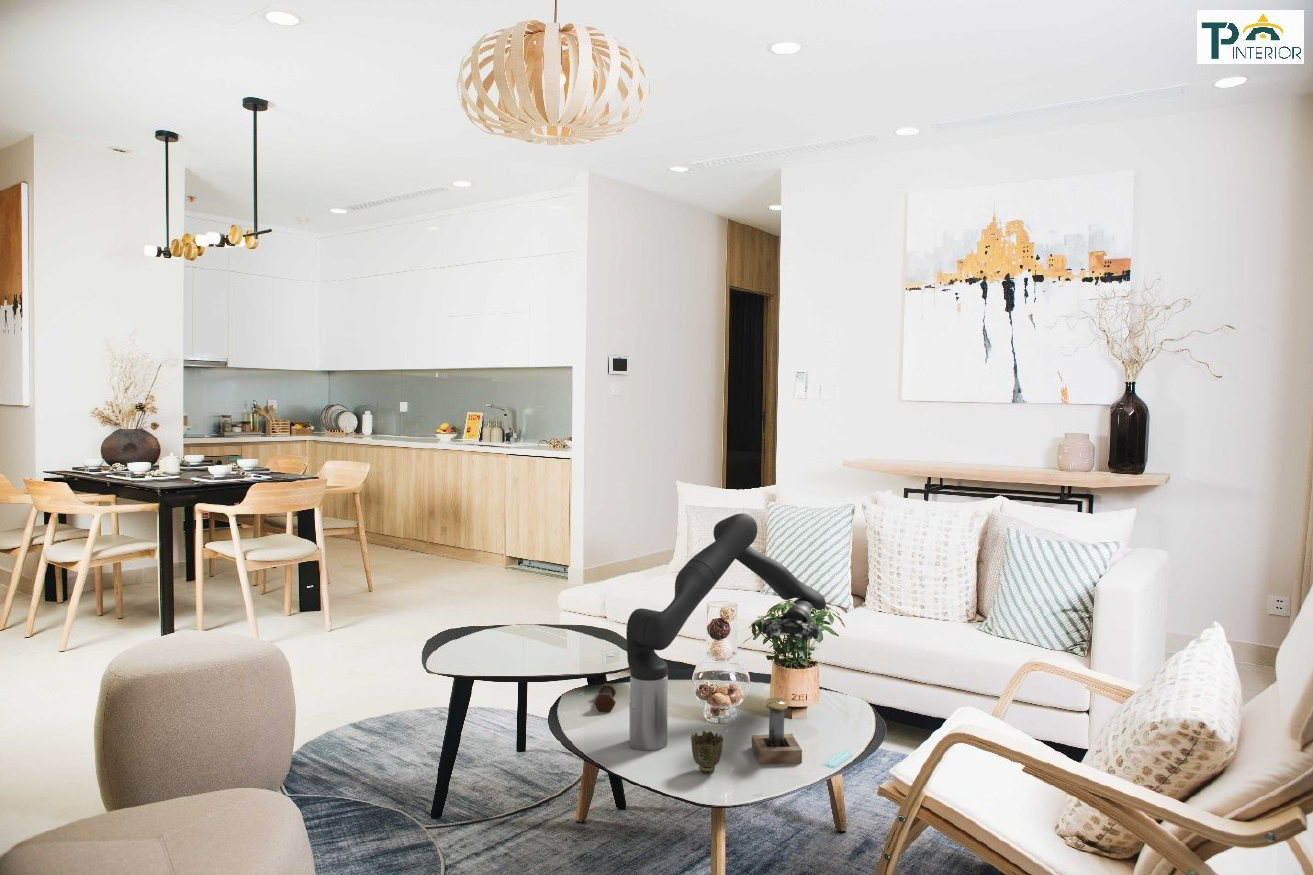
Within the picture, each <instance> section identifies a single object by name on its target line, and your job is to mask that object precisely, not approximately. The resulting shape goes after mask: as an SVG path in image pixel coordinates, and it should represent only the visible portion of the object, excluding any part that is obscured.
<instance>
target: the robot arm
mask: <svg viewBox="0 0 1313 875" xmlns="http://www.w3.org/2000/svg"><path fill="white" fill-rule="evenodd" d="M712 532H713V539H714V540H715V541H714V542H712V543H710V544H709V545H708V546H706V547H704V548H703V549H702V550H701V551H699V552H697V553H696V554H695V555H694V556H693V557H691V559H689V561H687V562H686V564H685V565H684V566H683V567H682V568H681V569H680V571H678V573H677V576H676V577H675V581H674V598H673V600H672V601H671V603H669V605H667V607H666V608H664V610H662V611H657V610H653V609H648V608H643V607H642V608H639V607H638V608H637V609H634V610H633V611H632V612H631V613H630V615H629V617H628V620H627V624H626V631H625V632H626V655H627V658H626V659H627V664H628V667H629V671H630V672H629V674H630V676H629V677H630V679H629V680H630V686H629V687H630V690H629V691H630V692H629V693H630V694H629V697H630V698H629V699H630V702H629V728H628V729H629V734H628V735H629V746H630V749H635V750H636V749H637V750H641V751H657V750H661V749H664V748H666V747H667V745H668V709H669V708H668V702H669V700H668V698H669V697H668V696H669V692H668V691H669V689H668V684H669V683H668V681H669V674H668V673H669V667H668V663H667V662H666V661H665V660H664V659H662V658H661V657H660V656H659V655H658V654H657V653H656V651H664V650H665V649H667V648H668V647H669V646H670V645H671V644H672V643H673V642H674V641H675V639H676V637H677V636H678V634H679V632H681V630H682V628H683V626H684V625H685V624H686V622H687V621H688V619H689V617H690V616H691V615H692V613H693V612H694V611H695V609H696V608H698V606H699V604H700V603H701V602H702V601H703V600H704V598H705V597H706V596H707V595H708V594H710V591H711V590H712V589H713V588H714V587H715V585H717V583H718V582H719V581H720V579H721V577H722V576H723V575H724V574H725V572H727V570H728V569H729V568H730V566H731V565H732V564H733V562H734V561H735V560H736V561H738V562H739V563H741V564H742V565H744V566H745V567H746V568H747V569H749V570H750V571H751V572H753V573H754V574H755V575H757V576H758V577H759V578H760V579H761V580H762V581H763V582H765V584H767V586H768V587H770V588H771V590H773V591H774V592H775V593H776V595H778V596H779V597H780V598H781V599H782V600H784V601H790V600H792V599H795V598H796V599H795V600H794V601H793V602H794V603H795V604H796V605H793V606H792V607H790V608H789V607H788V609H787V610H786V612H784V614H783V615H782V616H781V618H780V620H779V621H775V622H774V621H773V619H771V618H768V619H767V620H765V621H764V622H763V623H762V630H761V631H762V634H763V635H765V637H767V638H768V639H772V637H774V636H779V637H780V636H781V637H782V636H787V637H789V638H790V639H797V640H798V639H800V638H801V642H806V641H809V640H810V639H811V638H812V639H814V640H817V639H819V636H820V623H814V624H812V626H811V615H810V613H811V611H810V610H811V608H815V609H817V610H822V609H825V610H826V608H827V602H826V599H825V597H824V595H823V594H821V593H820V592H819V591H817V590H816V589H814V588H812V587H810V586H809V585H807V584H806V583H803V582H802V581H800V580H799V579H798V578H797V577H796V576H795V575H794V574H792V572H791V571H790V570H789V569H788V568H787V567H786V566H784V565H783V564H782V563H780V562H779V561H777V560H776V559H774V558H772V557H769V556H767V555H765V554H763V553H761V552H760V551H757V550H756V549H755V548H753V547H752V546H751V545H752V544H753V543H754V541H755V540H756V538H757V535H758V524H757V521H756V519H755V518H754V517H753V516H752V515H750V514H747V513H736V514H732V515H731V516H729V517H726V518H724V519H722V520H720V521H718V522H717V523H716V524H715V525H714V527H713V531H712Z"/></svg>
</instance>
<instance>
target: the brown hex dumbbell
mask: <svg viewBox="0 0 1313 875" xmlns="http://www.w3.org/2000/svg"><path fill="white" fill-rule="evenodd" d="M616 694H617V690H616V689H615V687H614V685H613V684H612V683H611V682H605V683H603V684H602V685H601V687H600V689H599V690H598V695H597V696H596V699H595V700H594V702H593V704H594V706H595V708H596V709H597V712H598V713H611V712H612V711H613V709H614V707H615V705H616V702H617V701H616V700H615V699H614V698H615V695H616Z"/></svg>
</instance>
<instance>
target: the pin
mask: <svg viewBox="0 0 1313 875" xmlns="http://www.w3.org/2000/svg"><path fill="white" fill-rule="evenodd" d="M788 704H789V702H788V700H787V699H785V698H781V697H769V698H767V699H765V707H766V708H767V709H768V735H769V747H784V734H785V710H787V709H788V708H789V707H788V706H789V705H788Z"/></svg>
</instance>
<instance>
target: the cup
mask: <svg viewBox="0 0 1313 875" xmlns="http://www.w3.org/2000/svg"><path fill="white" fill-rule="evenodd" d="M690 743H691V750H692V751H691V753H692V757H693V761H694V762H695V764H696V765H698V769H699V771H700V773H702V774H712V773H714V771H715V768H716V766H717V765H718V764H719V762H720V761H721V758H722V752H723V744H724V738H723V735H722V734H718V732H716V733H714V732H713V731H711V730H709V731H708V732H706V731H705V730H703V731H702V733H701V734H698V733H697V732H695V733H694V734H691V737H690Z"/></svg>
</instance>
